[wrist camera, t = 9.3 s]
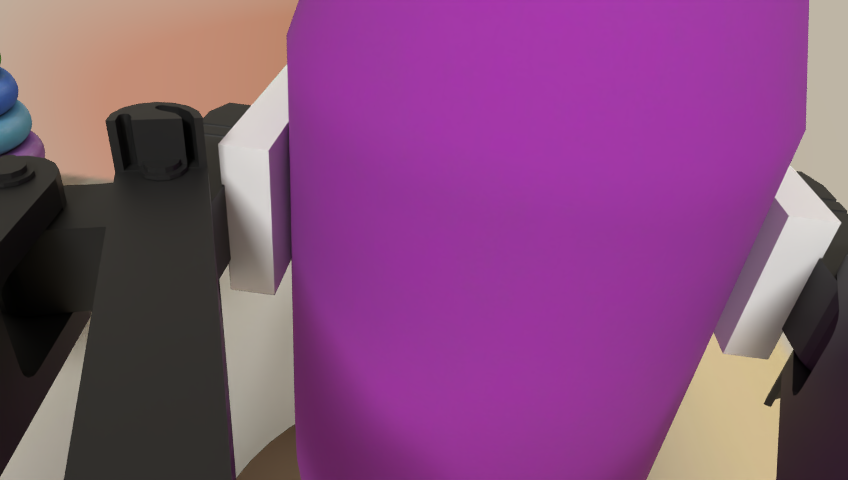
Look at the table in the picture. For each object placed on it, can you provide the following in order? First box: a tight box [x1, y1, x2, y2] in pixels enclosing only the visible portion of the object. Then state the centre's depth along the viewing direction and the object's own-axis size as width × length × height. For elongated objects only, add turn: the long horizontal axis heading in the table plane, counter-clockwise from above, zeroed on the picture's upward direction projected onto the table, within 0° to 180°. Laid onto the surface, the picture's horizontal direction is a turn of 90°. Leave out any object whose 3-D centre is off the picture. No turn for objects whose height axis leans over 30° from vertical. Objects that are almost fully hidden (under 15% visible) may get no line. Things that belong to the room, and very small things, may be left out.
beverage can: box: [287, 0, 809, 480], centre depth 12 cm, size 8×8×12 cm
